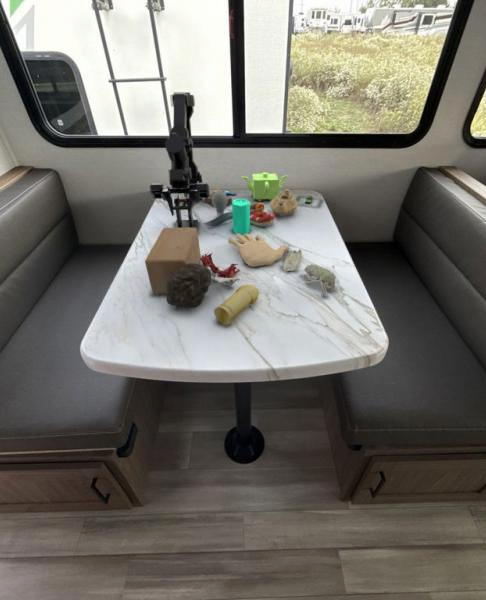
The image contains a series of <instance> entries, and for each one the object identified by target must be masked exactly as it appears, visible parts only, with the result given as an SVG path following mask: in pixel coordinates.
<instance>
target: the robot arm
mask: <svg viewBox="0 0 486 600" xmlns="http://www.w3.org/2000/svg"><path fill="white" fill-rule="evenodd" d="M169 100H170V107H173V122H172V123H173V126H172V127H171V129H170V130H169V131H168V132H169V133H168V138H166V140H165V142H164V146H165V150H166V153H167V156H168V158H169V161H170V166H171V167H170V168H171V169H168V170H167V171H168V182H169V186H164V183H161V182H159V183H156V182H155V183H151V184H150V185H149V192H150V194H151V196H152V198H153V199H156V200H163V201H165V202H166V203H167V205H168V208H169V211H170V214H171V216H172V217H174V215H175V210H173V206H174V199H173V198H172V195H173V194H174V195H176V194H183V197H187V194H189V205H188V210H187V216H188V215H189V216H190V214H191V212H192V213H193V209H194V207H195V206H196V204H197V202H199V201H201V200H204V198H209V197H210V194H211V193H210V185H209V183H208V182H203V177H202V174H201V171H199V166H198V165H197V164H196V162H195V160H194V152H193V151H194V150H193V149H194V148H193V146H194V142H193V138H192V125H191V118H192V116H193V114H194V112H195V111H194V107H195V106H196V100H195V95H194V94H192V92H191V91H173V93H172V94H170V95H169Z"/></svg>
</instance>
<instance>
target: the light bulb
mask: <svg viewBox="0 0 486 600" xmlns="http://www.w3.org/2000/svg"><path fill="white" fill-rule="evenodd" d="M227 197H228V196H227V195H226V194H225V193H223V191H222V192H216V193H214V194H213V196H212V204H211V205H213V207H214V209H215V212H216V218H217V217H219V216H220V215H221V214H223V213H225V210H226V207H227V206H228V205H227V202H228V198H227Z"/></svg>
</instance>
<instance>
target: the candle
mask: <svg viewBox="0 0 486 600" xmlns="http://www.w3.org/2000/svg"><path fill="white" fill-rule="evenodd" d="M231 205H232V206H231V208H232V210H231V211H232V213H233V219H232V231H233V233H234V234H237V233H239V234H241V235H244V234H245V233H247V234H249V233H250V231H251V223H250V205H251V202H250V201H249V200H247V199H245V198H242V197H240V198H236V199H232V203H231Z"/></svg>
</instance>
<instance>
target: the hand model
mask: <svg viewBox="0 0 486 600" xmlns="http://www.w3.org/2000/svg"><path fill="white" fill-rule="evenodd" d="M255 237H256V238H255ZM255 237H253V236H252V235H250V234H249V233H245V234H239V233H235V238H233V237H231V236H228V237H227V241H228V243H229V244H231V245H233V246H234V247H235V248H237V250H239V254H240V256H241V258H242V259H243V261H244V262H245V264H247V266H249V267H253V268H255V267H258V266H271V265H272V264H274V263H275V261H278V260H281V259H282V258H283V255H284V253H286V252H290V251H289V250H290V246H288V245H286V244H282V245H280V246H279V247H278V248H277V249H274V248H273V247H271V246H270V245H269V244H268V243H267V241H266V240H265V237H264V236H262V235H261V234H256V236H255Z"/></svg>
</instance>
